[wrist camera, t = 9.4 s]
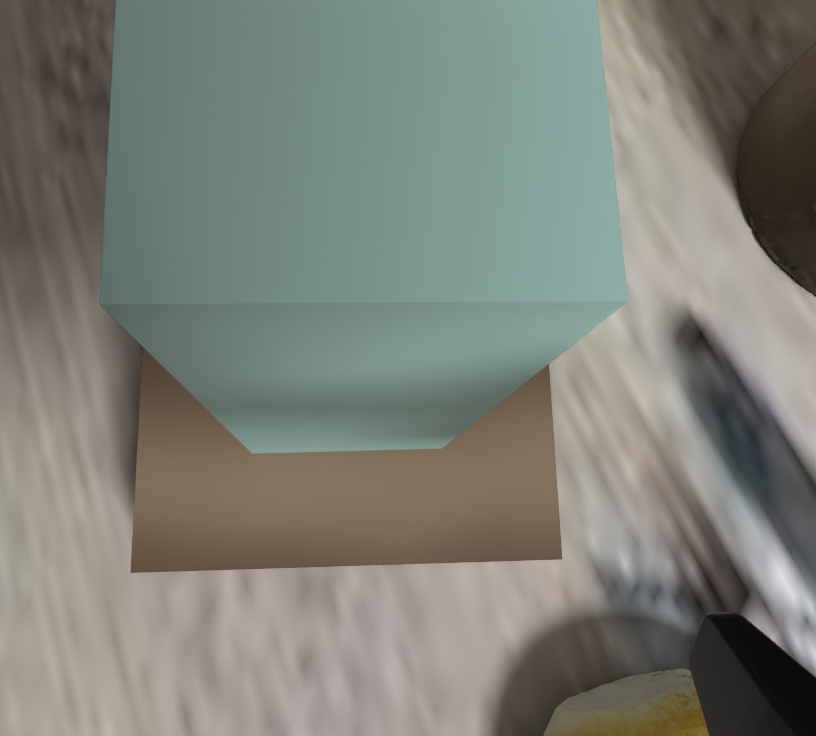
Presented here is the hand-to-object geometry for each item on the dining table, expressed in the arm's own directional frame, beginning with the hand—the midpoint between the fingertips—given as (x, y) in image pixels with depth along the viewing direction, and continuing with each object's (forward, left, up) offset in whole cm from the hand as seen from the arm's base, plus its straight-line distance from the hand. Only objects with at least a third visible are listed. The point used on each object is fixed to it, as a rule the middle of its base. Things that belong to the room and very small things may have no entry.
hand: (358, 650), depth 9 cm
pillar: (+6, +1, -10) cm, 12 cm away
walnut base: (+6, +1, -13) cm, 14 cm away
